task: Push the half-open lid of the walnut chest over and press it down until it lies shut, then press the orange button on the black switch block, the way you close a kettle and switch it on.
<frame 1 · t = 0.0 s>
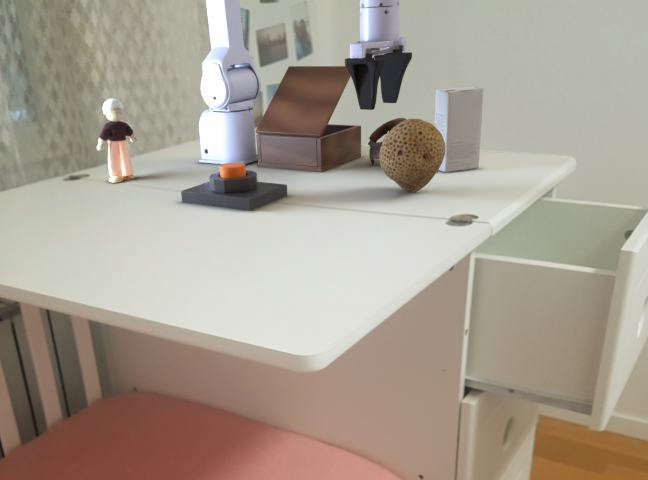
hand: (378, 106, 108), 10 cm above the table, tool pointing down, fingers open, 7 cm apart
cosmetic box: (455, 170, 113), on the table
chest: (310, 161, 123), on the table
switch block: (235, 199, 101), on the table
pottery mug: (399, 164, 119), on the table
grandmother figurine: (123, 180, 118), on the table
button: (232, 171, 100), point 4 cm above the table, slide at 0.1 cm
lid: (304, 100, 118), point 10 cm above the table, hinge at 40.0°
natural sponge: (410, 194, 100), on the table
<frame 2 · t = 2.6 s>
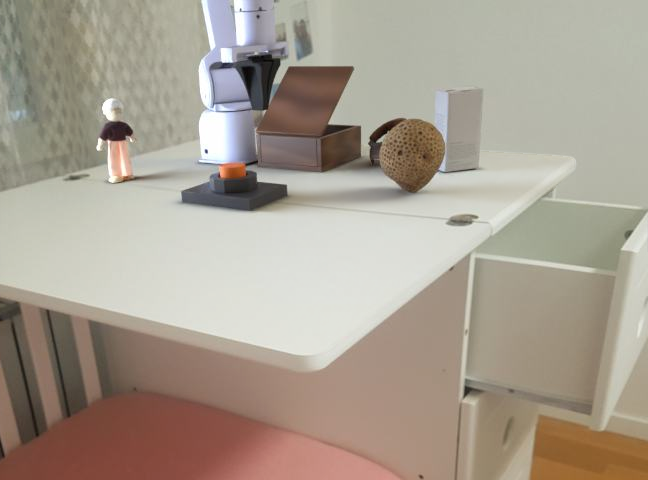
hand: (260, 110, 109), 10 cm above the table, tool pointing down, fingers closed
nothing on the table moved.
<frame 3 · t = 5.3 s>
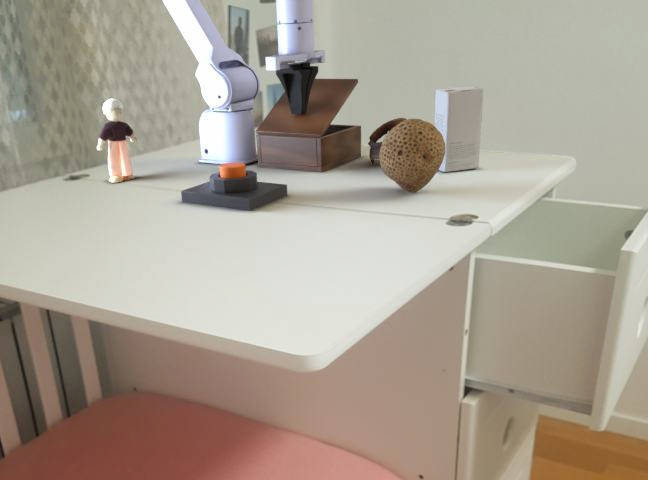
hand: (298, 113, 117), 8 cm above the table, tool pointing down, fingers closed
lid: (307, 106, 119), point 9 cm above the table, hinge at 29.5°
everything else where it was.
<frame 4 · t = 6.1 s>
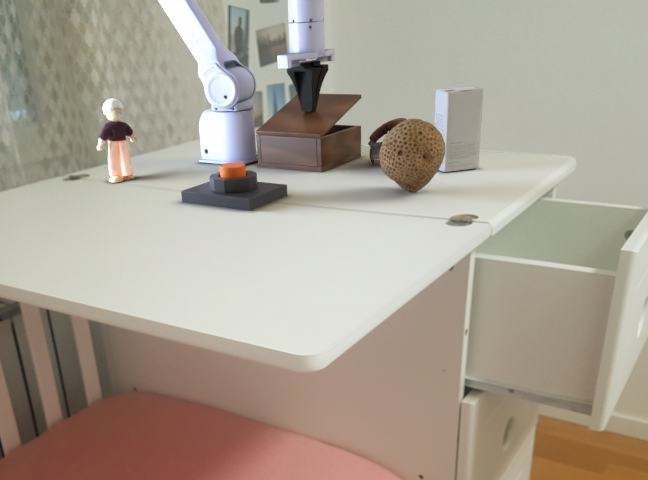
hand: (308, 111, 120), 8 cm above the table, tool pointing down, fingers closed
lid: (309, 114, 120), point 8 cm above the table, hinge at 18.2°, touching gripper
everything else where it was.
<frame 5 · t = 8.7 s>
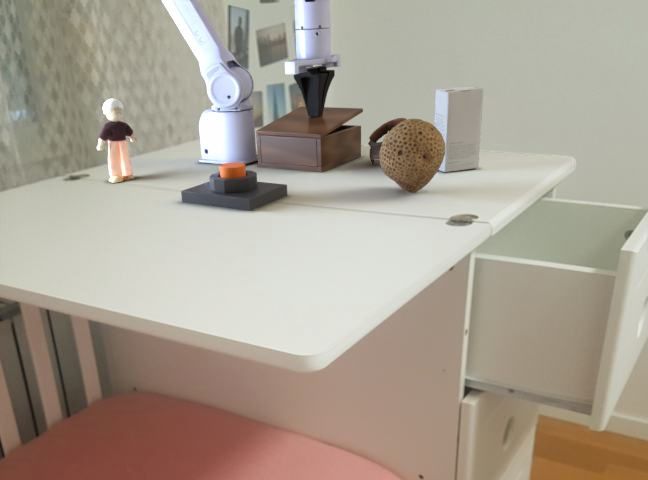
hand: (315, 115, 122), 7 cm above the table, tool pointing down, fingers closed
lid: (310, 121, 121), point 7 cm above the table, hinge at 8.5°, touching gripper
everything else where it was.
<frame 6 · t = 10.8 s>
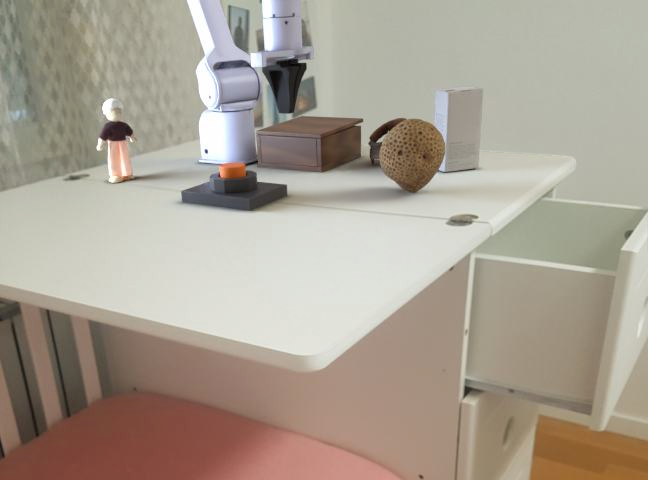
hand: (286, 113, 112), 9 cm above the table, tool pointing down, fingers closed
lid: (310, 126, 121), point 6 cm above the table, hinge at 1.8°
everything else where it was.
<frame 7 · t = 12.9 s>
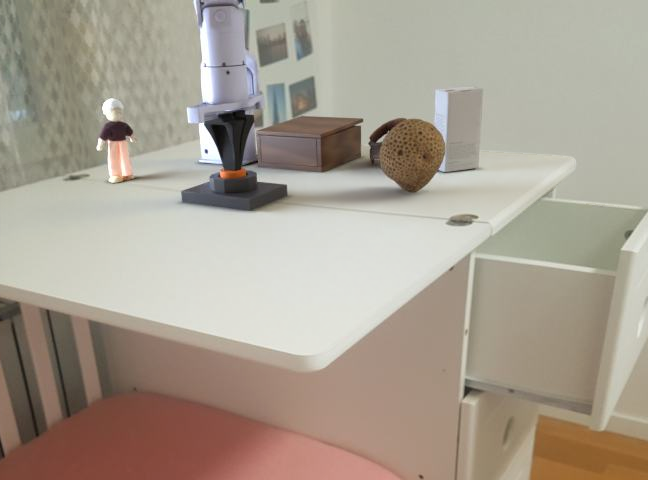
hand: (232, 169, 99), 4 cm above the table, tool pointing down, fingers closed, pressing on button
button: (233, 175, 100), point 3 cm above the table, slide at -0.5 cm, touching gripper
everything else where it was.
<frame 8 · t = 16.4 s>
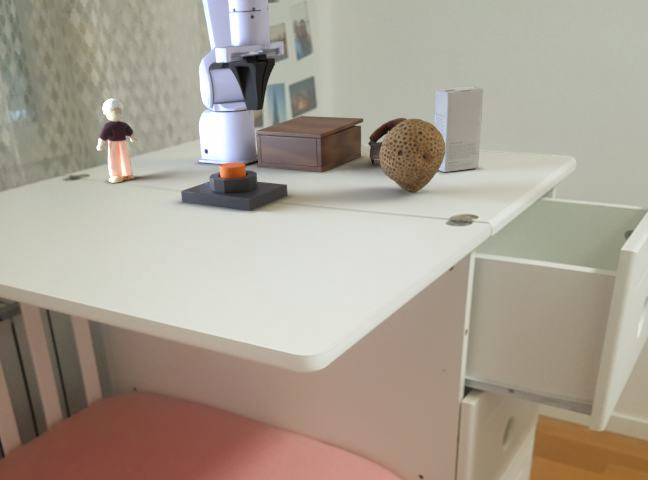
hand: (254, 109, 109), 10 cm above the table, tool pointing down, fingers closed
button: (232, 171, 100), point 4 cm above the table, slide at 0.1 cm
everything else where it was.
at the end: lid at +2° (first picture: +40°); button pushed in 1.2 cm at the most during the clip, back to where it started at the end; button slide at 0.1 cm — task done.
